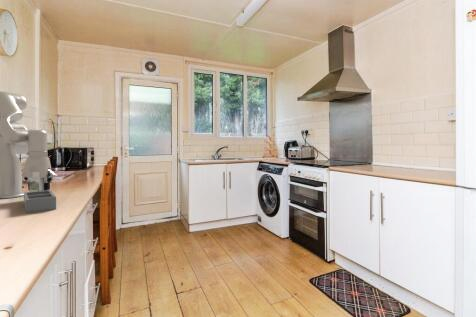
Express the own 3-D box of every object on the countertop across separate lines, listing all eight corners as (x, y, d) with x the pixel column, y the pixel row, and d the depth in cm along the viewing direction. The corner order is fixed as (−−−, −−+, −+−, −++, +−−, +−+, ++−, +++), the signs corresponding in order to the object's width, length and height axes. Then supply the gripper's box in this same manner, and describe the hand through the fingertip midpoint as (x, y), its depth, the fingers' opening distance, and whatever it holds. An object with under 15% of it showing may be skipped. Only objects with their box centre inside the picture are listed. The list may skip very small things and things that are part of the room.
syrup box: (49, 198, 129) (48, 170, 128) (39, 200, 123) (38, 171, 122) (39, 197, 129) (38, 170, 128) (28, 200, 123) (28, 171, 123)
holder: (24, 204, 115) (23, 192, 115) (51, 201, 122) (50, 190, 122) (25, 213, 101) (25, 199, 101) (56, 209, 108) (56, 196, 108)
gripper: (13, 155, 121) (15, 191, 122) (50, 155, 121) (51, 191, 122) (26, 154, 128) (27, 188, 129) (61, 154, 129) (61, 189, 130)
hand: (39, 189), depth 126 cm, fingers open, 6 cm apart
